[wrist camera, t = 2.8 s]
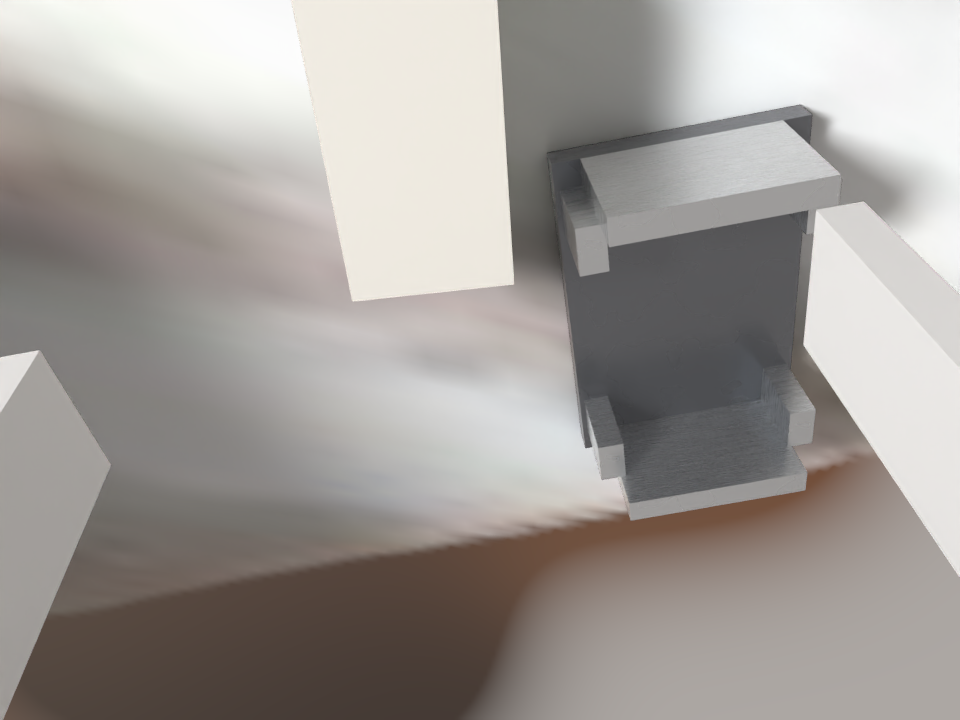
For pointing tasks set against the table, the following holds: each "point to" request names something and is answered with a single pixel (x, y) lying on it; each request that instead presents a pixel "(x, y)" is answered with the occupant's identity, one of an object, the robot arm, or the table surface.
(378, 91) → the cream rectangular block
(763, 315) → the mount
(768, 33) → the table surface
